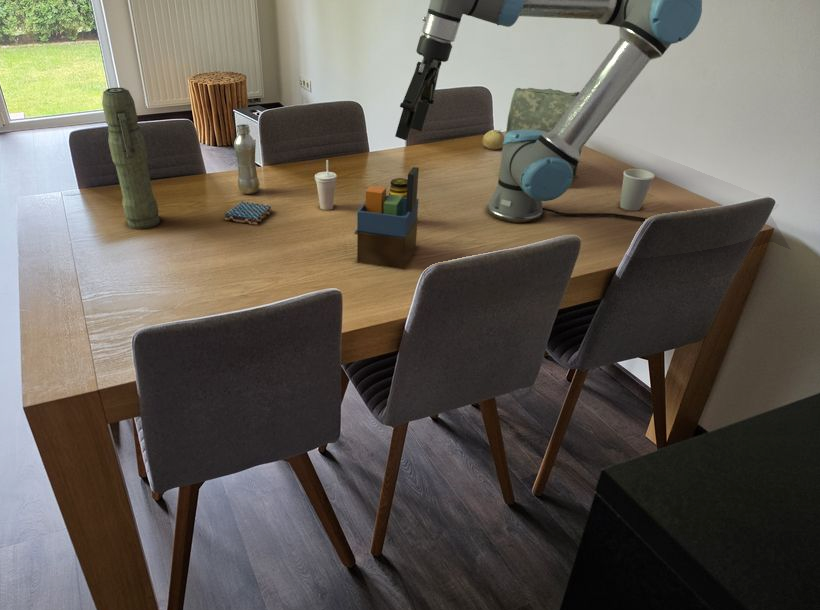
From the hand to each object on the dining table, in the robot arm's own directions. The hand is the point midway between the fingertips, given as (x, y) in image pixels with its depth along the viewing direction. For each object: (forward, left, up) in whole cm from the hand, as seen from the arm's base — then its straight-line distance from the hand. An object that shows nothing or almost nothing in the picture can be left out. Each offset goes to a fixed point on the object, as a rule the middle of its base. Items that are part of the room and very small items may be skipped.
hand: (408, 133), depth 147 cm
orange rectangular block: (+5, +11, -18) cm, 22 cm away
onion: (-12, -85, -27) cm, 90 cm away
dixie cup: (-58, -41, -27) cm, 77 cm away
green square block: (0, +11, -18) cm, 21 cm away
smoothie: (+27, -13, -27) cm, 40 cm away
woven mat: (+46, 0, -27) cm, 53 cm away
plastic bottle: (+54, -17, -27) cm, 62 cm away
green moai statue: (+72, +13, -27) cm, 78 cm away
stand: (+1, +11, -27) cm, 29 cm away
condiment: (+5, -9, -27) cm, 29 cm away
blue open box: (+2, +11, -19) cm, 22 cm away
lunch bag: (-30, -60, -27) cm, 73 cm away
